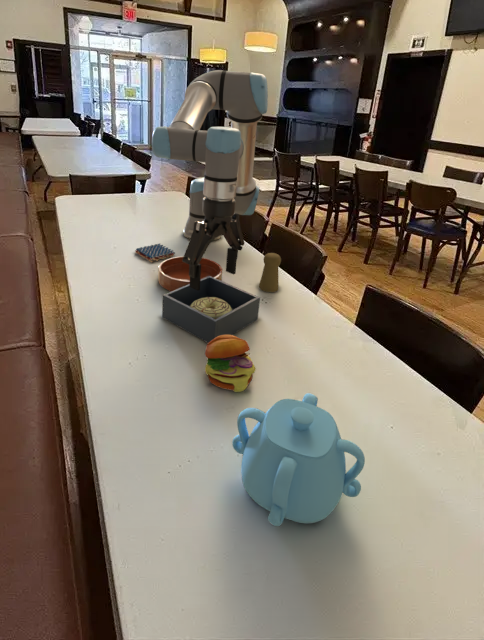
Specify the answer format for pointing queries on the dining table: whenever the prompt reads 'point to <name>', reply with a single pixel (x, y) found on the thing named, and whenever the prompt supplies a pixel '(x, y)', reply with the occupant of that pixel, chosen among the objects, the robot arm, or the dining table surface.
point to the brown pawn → (270, 273)
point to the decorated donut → (211, 306)
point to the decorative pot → (296, 460)
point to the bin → (202, 324)
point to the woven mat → (154, 252)
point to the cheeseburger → (229, 363)
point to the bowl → (184, 272)
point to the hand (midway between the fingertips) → (213, 280)
